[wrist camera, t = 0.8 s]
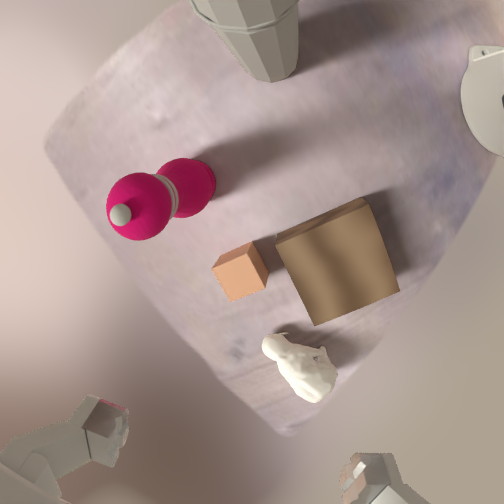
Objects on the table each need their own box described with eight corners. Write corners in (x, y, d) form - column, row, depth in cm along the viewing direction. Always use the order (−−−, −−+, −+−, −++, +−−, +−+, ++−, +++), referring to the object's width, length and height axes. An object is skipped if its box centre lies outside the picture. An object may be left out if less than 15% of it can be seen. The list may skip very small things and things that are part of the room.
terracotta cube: (252, 241, 43) (246, 253, 39) (268, 272, 45) (265, 288, 40) (220, 255, 45) (211, 268, 40) (237, 285, 46) (230, 302, 41)
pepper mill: (229, 171, 41) (170, 196, 22) (205, 219, 43) (138, 277, 25) (181, 147, 40) (94, 156, 22) (160, 194, 43) (71, 235, 24)
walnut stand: (360, 197, 39) (368, 204, 35) (390, 275, 42) (400, 291, 37) (277, 234, 43) (274, 245, 38) (313, 307, 45) (314, 326, 41)
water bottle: (303, 83, 36) (309, 0, 12) (240, 86, 37) (163, 17, 13) (298, 20, 33) (292, -103, 9) (237, 24, 34) (168, -86, 11)
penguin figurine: (312, 415, 41) (244, 373, 42) (316, 380, 49) (256, 341, 50) (342, 390, 39) (270, 343, 39) (341, 355, 47) (280, 313, 47)
